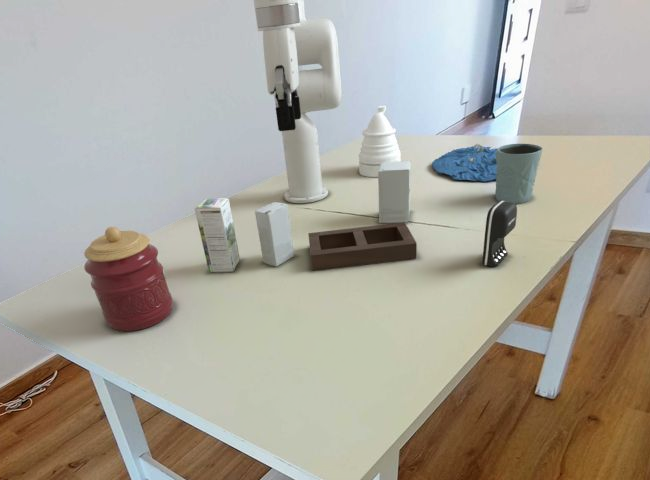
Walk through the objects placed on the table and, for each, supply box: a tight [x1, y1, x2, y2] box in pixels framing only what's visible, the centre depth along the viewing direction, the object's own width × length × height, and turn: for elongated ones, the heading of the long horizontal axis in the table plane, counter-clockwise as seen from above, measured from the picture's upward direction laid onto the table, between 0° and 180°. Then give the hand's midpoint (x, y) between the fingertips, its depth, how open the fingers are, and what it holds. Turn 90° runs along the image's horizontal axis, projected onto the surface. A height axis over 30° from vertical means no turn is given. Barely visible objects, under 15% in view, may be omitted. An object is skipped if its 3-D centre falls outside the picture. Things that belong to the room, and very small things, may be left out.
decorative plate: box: [431, 143, 498, 182], centre depth 148 cm, size 30×30×5 cm
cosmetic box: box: [254, 201, 295, 267], centre depth 106 cm, size 6×4×12 cm
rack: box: [307, 222, 418, 272], centre depth 108 cm, size 12×22×4 cm, turn 93°
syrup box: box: [194, 197, 241, 273], centre depth 106 cm, size 6×6×14 cm
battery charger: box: [481, 201, 518, 267], centre depth 96 cm, size 7×4×11 cm, turn 142°
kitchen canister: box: [83, 226, 174, 332], centre depth 91 cm, size 13×13×18 cm
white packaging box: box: [377, 160, 412, 224], centre depth 120 cm, size 7×7×13 cm
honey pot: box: [358, 105, 402, 178], centre depth 151 cm, size 13×13×18 cm
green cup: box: [494, 143, 543, 205], centre depth 123 cm, size 10×10×12 cm
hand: (290, 124), depth 96 cm, fingers open, 9 cm apart
